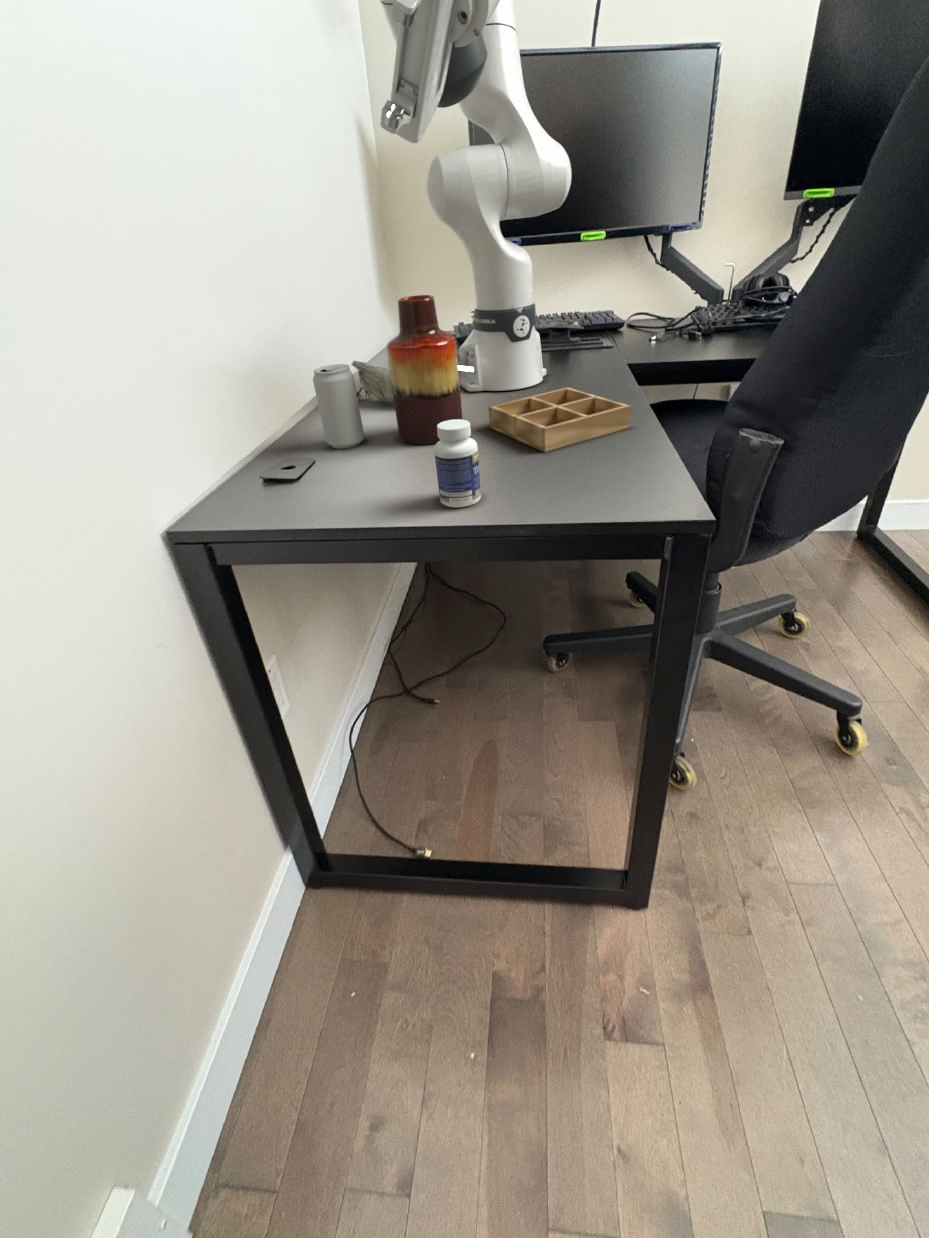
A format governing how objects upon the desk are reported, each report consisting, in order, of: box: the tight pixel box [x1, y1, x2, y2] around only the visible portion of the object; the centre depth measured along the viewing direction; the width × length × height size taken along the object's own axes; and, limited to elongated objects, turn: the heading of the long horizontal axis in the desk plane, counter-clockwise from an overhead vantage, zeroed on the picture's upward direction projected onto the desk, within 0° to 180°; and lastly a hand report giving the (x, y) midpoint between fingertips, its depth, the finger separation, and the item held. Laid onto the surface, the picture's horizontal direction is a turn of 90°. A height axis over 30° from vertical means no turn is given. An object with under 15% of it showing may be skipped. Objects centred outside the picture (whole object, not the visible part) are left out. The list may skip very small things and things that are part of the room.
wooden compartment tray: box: [488, 386, 631, 453], centre depth 96 cm, size 16×16×4 cm
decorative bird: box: [351, 360, 394, 404], centre depth 117 cm, size 5×16×8 cm, turn 50°
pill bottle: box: [433, 419, 482, 508], centre depth 74 cm, size 5×5×10 cm
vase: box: [385, 294, 464, 446], centre depth 95 cm, size 11×11×20 cm
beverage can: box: [312, 363, 365, 449], centre depth 97 cm, size 6×6×12 cm
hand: (393, 73), depth 55 cm, fingers open, 8 cm apart
